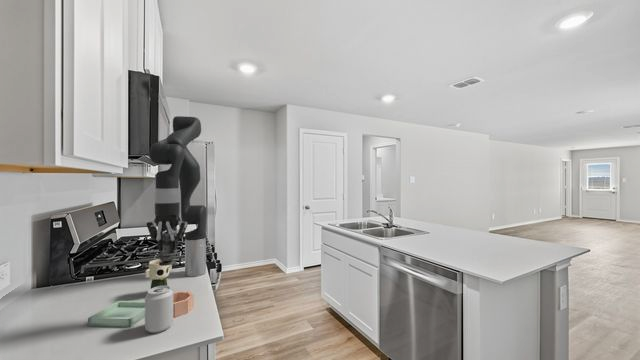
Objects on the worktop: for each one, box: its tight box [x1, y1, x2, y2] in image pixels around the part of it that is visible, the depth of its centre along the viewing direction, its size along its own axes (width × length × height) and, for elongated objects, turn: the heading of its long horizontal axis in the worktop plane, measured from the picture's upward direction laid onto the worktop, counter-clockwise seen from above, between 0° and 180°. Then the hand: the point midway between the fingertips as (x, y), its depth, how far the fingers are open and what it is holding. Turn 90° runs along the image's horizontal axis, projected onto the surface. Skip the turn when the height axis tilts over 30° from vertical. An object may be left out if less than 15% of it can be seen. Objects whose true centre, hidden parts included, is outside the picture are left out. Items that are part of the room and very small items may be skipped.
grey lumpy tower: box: [157, 231, 178, 266], centre depth 93 cm, size 6×6×12 cm
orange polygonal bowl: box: [173, 290, 195, 319], centre depth 94 cm, size 10×10×4 cm
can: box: [144, 285, 174, 334], centre depth 82 cm, size 8×8×12 cm
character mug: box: [144, 258, 173, 290], centre depth 107 cm, size 11×7×13 cm, turn 157°
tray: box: [87, 300, 145, 328], centre depth 89 cm, size 12×14×2 cm
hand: (167, 250), depth 93 cm, fingers closed on grey lumpy tower, 3 cm apart
